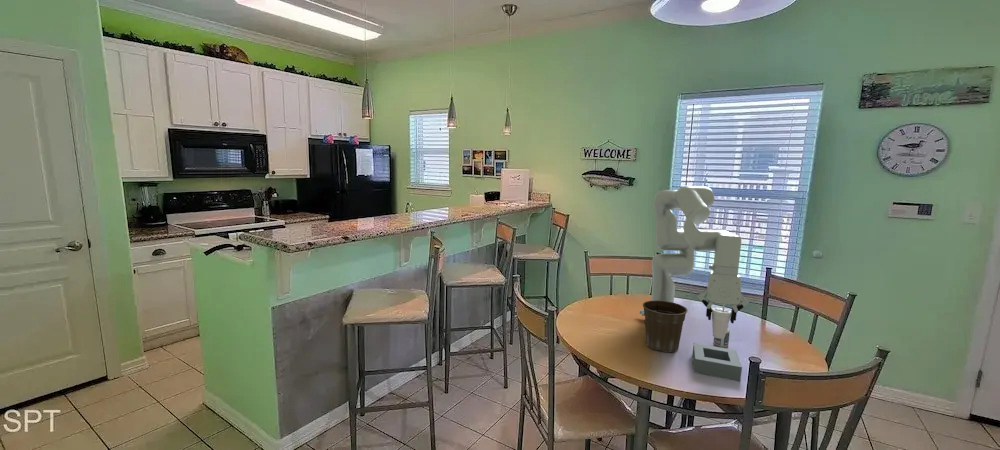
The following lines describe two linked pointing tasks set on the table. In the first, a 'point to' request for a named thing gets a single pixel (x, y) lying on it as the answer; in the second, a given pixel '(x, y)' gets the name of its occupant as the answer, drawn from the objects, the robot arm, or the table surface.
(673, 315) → the plant pot
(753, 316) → the table surface
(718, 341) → the pill bottle
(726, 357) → the socket
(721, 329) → the smoothie
